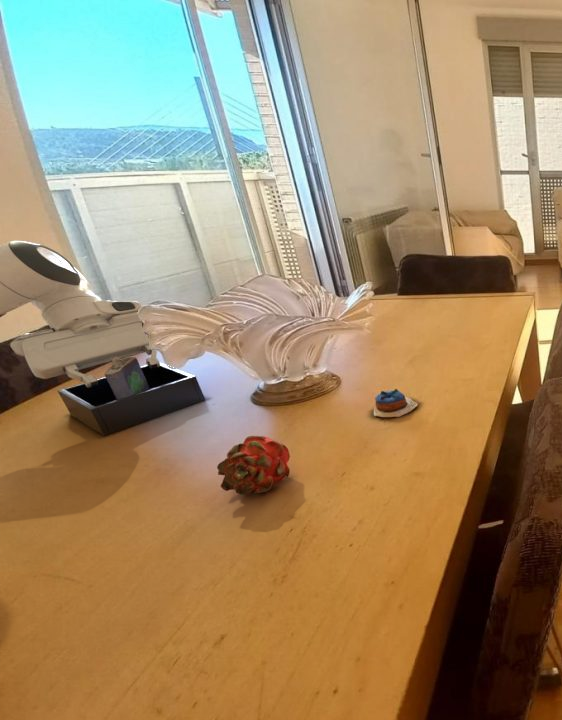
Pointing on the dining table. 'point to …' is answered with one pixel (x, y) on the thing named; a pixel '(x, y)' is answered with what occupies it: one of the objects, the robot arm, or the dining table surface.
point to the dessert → (393, 404)
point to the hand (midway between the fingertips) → (125, 375)
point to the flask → (126, 377)
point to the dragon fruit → (254, 465)
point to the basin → (132, 400)
